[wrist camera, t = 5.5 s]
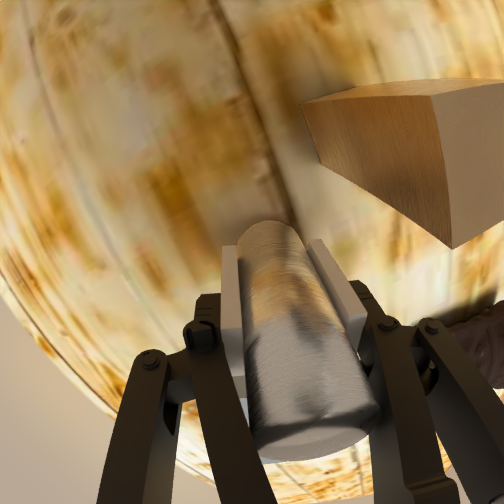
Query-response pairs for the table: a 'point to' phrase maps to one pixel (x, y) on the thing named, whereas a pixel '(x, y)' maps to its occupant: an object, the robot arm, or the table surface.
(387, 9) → the table surface
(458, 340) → the pipe
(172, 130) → the table surface
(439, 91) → the square bit
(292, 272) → the cylinder
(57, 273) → the table surface
